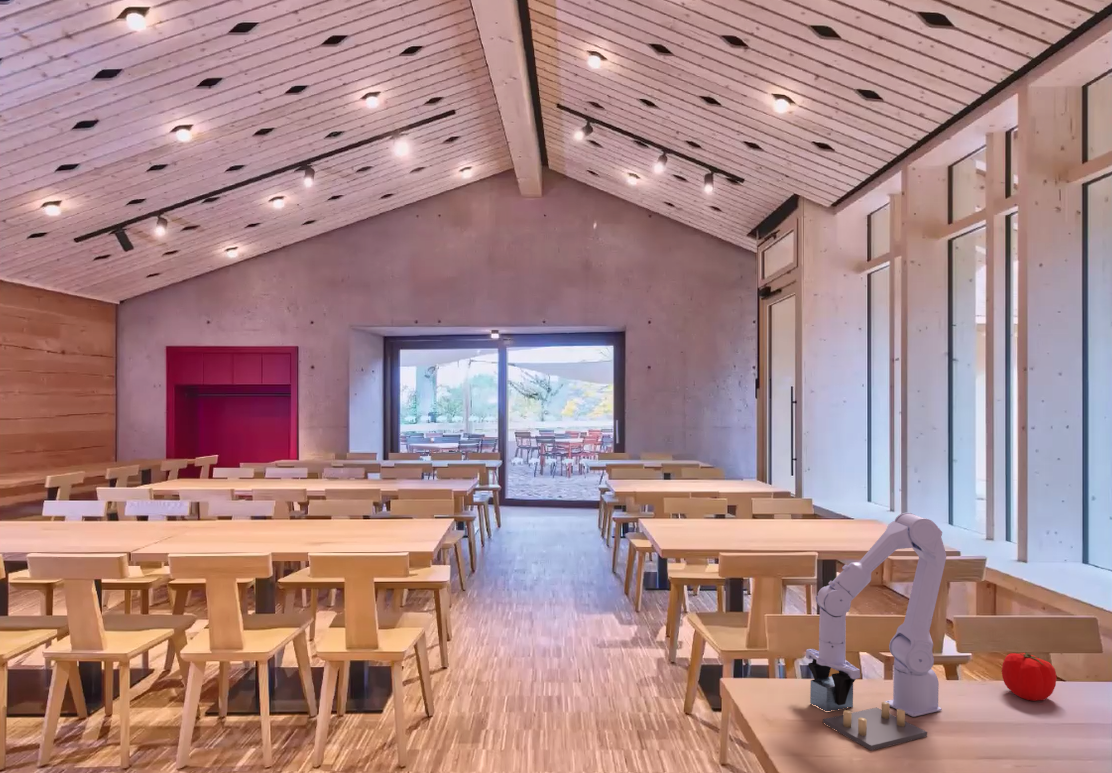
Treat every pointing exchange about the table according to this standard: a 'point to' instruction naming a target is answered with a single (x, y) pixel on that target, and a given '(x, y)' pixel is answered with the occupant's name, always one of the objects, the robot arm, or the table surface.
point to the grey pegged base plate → (875, 727)
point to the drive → (827, 694)
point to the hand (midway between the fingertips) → (831, 699)
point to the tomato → (1028, 676)
